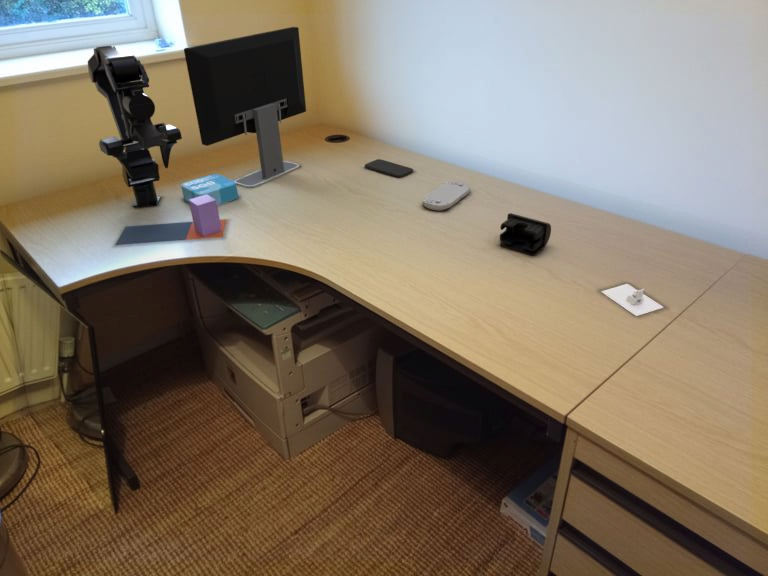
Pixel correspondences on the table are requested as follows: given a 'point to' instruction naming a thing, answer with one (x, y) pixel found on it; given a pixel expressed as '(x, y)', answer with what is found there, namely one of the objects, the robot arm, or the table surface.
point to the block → (205, 215)
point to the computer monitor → (249, 93)
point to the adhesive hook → (632, 299)
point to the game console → (446, 195)
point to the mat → (164, 233)
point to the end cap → (524, 234)
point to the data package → (211, 188)
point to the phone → (389, 168)
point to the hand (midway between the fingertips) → (149, 172)
